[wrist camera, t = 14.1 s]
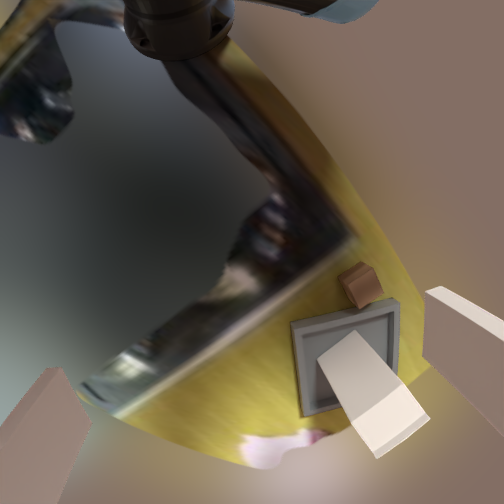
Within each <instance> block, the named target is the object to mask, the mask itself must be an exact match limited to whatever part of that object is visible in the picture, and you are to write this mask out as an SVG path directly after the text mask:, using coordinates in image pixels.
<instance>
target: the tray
mask: <svg viewBox="0 0 504 504" xmlns="http://www.w3.org/2000/svg"><path fill="white" fill-rule="evenodd" d="M290 324H291V332H292V339H293V347H294V355H295V363H296V371H297V379H298V387H299V396H300V404H301V409H302V412H303V415H304V417H305V416H309V415H314V414H318V413H321V412H325V411H329V410H333V409H336V408H340V407H342V406H341V404H340V402H339V400H338V398H337V396H336V394H335V393H334V391H333V389H332V387H331V385H330V383H329V381H328V380H327V378H326V376H325V374H324V372H323V370H322V369H321V367H320V365H319V363H318V361H317V358H318V357H320V356H321V355H322V354H324V353H325V352H326V351H328V350H329V349H330V348H332V347H333V346H334V345H335V344H337V343H338V342H339V341H341V340H342V339H343V338H344V337H346V336H347V335H348V334H349V333H351V332H352V331H353V330H356V331H357V332H358V333H359V334H360V335H361V337H362V338H363V339H364V340H365V341H366V342H367V343H368V344H369V345H370V346H371V348H372V349H373V350H374V351H375V352H376V353H377V354H378V355H379V356H380V358H381V359H382V360H383V361H384V362H385V363H386V364H387V365H388V366H389V368H390V369H391V370H392V371H393V372H394V373H395V374H396V375H397V371H398V357H399V336H400V303H399V302H398V301H397V300H395V299H394V298H388V299H385V300H381V301H377V302H373V303H369V304H367V305H365V306H364V307H362V308H361V309H359V308H358V307H354V308H350V309H346V310H341V311H337V312H333V313H329V314H324V315H320V316H316V317H311V318H307V319H302V320H297V321H293V322H290Z"/></svg>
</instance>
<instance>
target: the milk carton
mask: <svg viewBox="0 0 504 504" xmlns="http://www.w3.org/2000/svg"><path fill="white" fill-rule="evenodd" d="M317 361H318V363H319V365H320V367H321V369H322V370H323V372H324V374H325V376H326V378H327V380H328V381H329V383H330V385H331V387H332V389H333V391H334V393H335V394H336V396H337V398H338V400H339V402H340V404H341V406H342V407H343V409H344V411H345V413H346V415H347V417H348V419H349V420H350V422H351V424H352V426H353V427H354V428H355V430H356V431H357V432H358V434H359V435H360V436H361V438H362V439H363V440H364V442H365V443H366V444H367V446H368V447H369V448H370V450H371V451H372V452H373V454H374V456H375V457H376V459H378V458H379V457H381V456H382V455H384V454H385V453H387V452H388V451H389V450H391V449H392V448H394V447H395V446H396V445H398V444H399V443H401V442H403V441H404V440H406V439H407V438H408V437H409V436H410V435H411V434H413V433H414V432H415V431H416V430H417V429H419V428H420V427H421V426H423V425H424V424H425V423H426V422H427V421H429V420H430V417H429V416H428V415H427V414H426V413H425V411H424V410H423V409H422V407H421V406H420V405H419V403H418V402H417V401H416V399H415V398H414V397H413V395H412V394H411V392H410V391H409V390H408V388H407V387H406V386H405V384H404V383H403V382H402V381H401V380H400V379H399V378H398V377H397V375H396V374H395V373H394V372H393V371H392V370H391V369H390V368H389V366H388V365H387V364H386V363H385V362H384V361H383V360H382V359H381V358H380V356H379V355H378V354H377V353H376V352H375V351H374V350H373V349H372V348H371V346H370V345H369V344H368V343H367V342H366V341H365V340H364V339H363V338H362V337H361V335H360V334H359V333H358V332H357V331H356V330H353V331H352V332H351V333H349V334H348V335H347V336H346V337H344V338H343V339H342V340H341V341H339V342H338V343H337V344H335V345H334V346H333V347H332V348H330V349H329V350H328V351H326V352H325V353H324V354H322V355H321V356H320V357H318V358H317Z"/></svg>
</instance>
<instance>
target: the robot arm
mask: <svg viewBox="0 0 504 504" xmlns="http://www.w3.org/2000/svg"><path fill="white" fill-rule="evenodd" d="M123 1H124V3H125V9H124V29H125V33H126V35H127V37H128V39H129V40H130V42H131V43H132V45H133V46H134V47H135V48H136V49H137V50H138V51H139V52H140V53H142V54H143V55H145V56H147V57H150V58H153V59H157V60H163V61H178V60H185V59H189V58H193V57H196V56H198V55H201V54H203V53H205V52H207V51H209V50H211V49H212V48H214V47H215V46H216V45H218V44H219V43H220V42H221V41H222V40H223V39H224V38H225V37H226V35H227V34H228V32H229V30H230V29H231V27H232V24H233V21H234V11H235V9H234V8H235V6H234V0H123ZM240 1H245V2H250V3H256V4H261V5H266V6H270V7H274V8H279V9H283V10H288V11H291V12H295V13H299V14H300V15H301V16H304V17H309V18H310V17H315V18H319V19H323V20H326V21H330V22H333V23H339V24H345V23H348V22H352V21H355V20H357V19H359V18H361V17H362V16H364V15H365V14H366V13H367V12H368V11H370V10H371V8H373V7H374V6H375V4H376V3H377V2H378V1H379V0H240ZM422 357H424V358H425V359H426V360H427V361H428V362H429V363H430V364H431V365H432V366H433V367H434V368H435V369H436V370H437V371H438V372H439V373H440V374H441V375H442V376H443V377H444V378H445V379H447V381H448V382H449V383H451V384H452V386H454V387H455V388H456V389H457V390H458V391H459V392H460V393H461V394H462V395H463V396H464V397H465V398H466V399H467V400H468V401H469V402H470V403H471V404H472V405H473V406H474V407H475V408H476V409H477V410H478V411H479V412H480V413H481V414H482V415H483V416H484V417H485V418H486V420H487V421H488V422H489V423H490V424H491V425H492V426H493V427H494V428H495V429H496V430H497V431H498V432H499V433H500V434H501V435H502V436H503V437H504V321H503V320H501V319H499V318H498V317H496V316H494V315H492V314H491V313H489V312H487V311H486V310H484V309H482V308H480V307H478V306H477V305H475V304H473V303H472V302H470V301H468V300H466V299H464V298H462V297H461V296H459V295H457V294H455V293H453V292H452V291H450V290H448V289H446V288H444V287H442V286H439V287H436V288H433V289H431V290H428V291H425V316H424V338H423V353H422ZM91 425H92V422H91V420H90V419H89V417H88V415H87V414H86V412H85V410H84V409H83V407H82V405H81V403H80V401H79V400H78V398H77V397H76V394H75V392H74V391H73V389H72V387H71V385H70V383H69V381H68V379H67V377H66V375H65V373H64V371H63V370H62V367H55V368H47V369H45V371H44V372H43V373H42V374H41V375H40V377H39V378H38V379H37V380H36V382H35V383H34V384H33V385H32V387H31V388H30V389H29V390H28V392H27V393H26V394H25V395H24V397H23V398H22V399H21V400H20V402H19V403H18V404H17V406H16V407H15V408H14V409H13V411H12V412H11V413H10V415H9V416H8V417H7V419H6V420H5V421H4V423H3V424H2V425H1V427H0V504H57V503H58V501H59V498H60V496H61V493H62V491H63V488H64V485H65V483H66V481H67V479H68V476H69V474H70V472H71V469H72V467H73V465H74V462H75V460H76V458H77V455H78V453H79V451H80V449H81V447H82V444H83V442H84V440H85V438H86V436H87V434H88V431H89V429H90V427H91Z"/></svg>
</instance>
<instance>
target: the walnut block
mask: <svg viewBox="0 0 504 504" xmlns="http://www.w3.org/2000/svg"><path fill="white" fill-rule="evenodd" d="M338 278H339V280H340V282H341V284H342V286H343V288H344V290H345V292H346V294H347V296H348V299H349V300H350V301H351V302H352V303H353V304H355V305H356V306H357V307H358V308H359V309H361V308H362V307H364V306H365V305H367V304H368V303H370V302H371V301H373V300H374V299H376V298H377V297H379V296H380V295H382V294H383V293H384V292H383V289H382V287H381V285H380V282H379V280H378V278H377V276H376V273H375V271H374V269H373V268H372V267H370V266H368V265H367V264H365V263H363V262H359V263H358V264H356V265H355V266H353V267H352V268H350V269H349V270H347V271H346V272H344V273H342V274H341V275H339V276H338Z"/></svg>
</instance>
